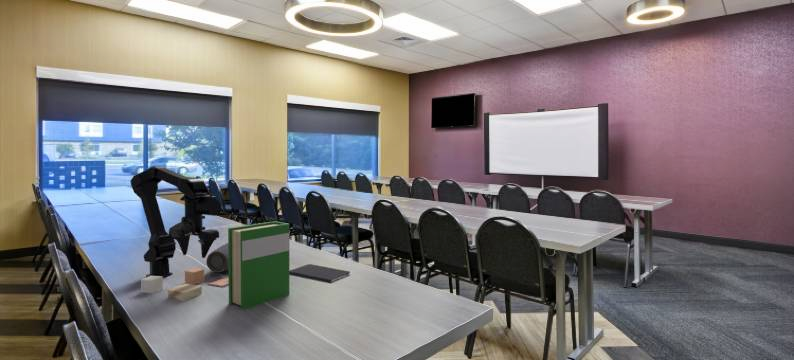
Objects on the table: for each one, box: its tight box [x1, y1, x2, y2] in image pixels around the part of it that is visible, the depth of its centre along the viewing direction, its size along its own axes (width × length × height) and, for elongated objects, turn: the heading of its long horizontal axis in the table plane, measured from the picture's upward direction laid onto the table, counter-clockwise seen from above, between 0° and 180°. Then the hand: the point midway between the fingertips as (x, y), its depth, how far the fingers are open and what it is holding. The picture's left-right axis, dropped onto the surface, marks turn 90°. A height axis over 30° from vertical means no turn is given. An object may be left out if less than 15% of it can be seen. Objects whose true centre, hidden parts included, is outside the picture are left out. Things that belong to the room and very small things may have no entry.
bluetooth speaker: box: [205, 242, 229, 273], centre depth 172 cm, size 23×9×10 cm, turn 179°
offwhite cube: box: [140, 276, 164, 294], centre depth 142 cm, size 4×4×4 cm
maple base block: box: [167, 283, 203, 302], centre depth 138 cm, size 7×7×3 cm
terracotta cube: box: [184, 267, 205, 285], centre depth 152 cm, size 4×4×4 cm
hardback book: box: [227, 221, 290, 311], centre depth 135 cm, size 18×7×24 cm, turn 143°
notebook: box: [289, 263, 351, 283], centre depth 165 cm, size 13×2×21 cm
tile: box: [207, 278, 229, 288], centre depth 151 cm, size 7×7×1 cm
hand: (194, 256), depth 152 cm, fingers open, 9 cm apart
